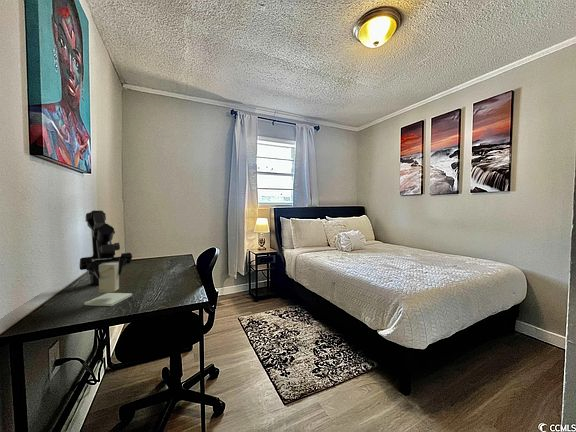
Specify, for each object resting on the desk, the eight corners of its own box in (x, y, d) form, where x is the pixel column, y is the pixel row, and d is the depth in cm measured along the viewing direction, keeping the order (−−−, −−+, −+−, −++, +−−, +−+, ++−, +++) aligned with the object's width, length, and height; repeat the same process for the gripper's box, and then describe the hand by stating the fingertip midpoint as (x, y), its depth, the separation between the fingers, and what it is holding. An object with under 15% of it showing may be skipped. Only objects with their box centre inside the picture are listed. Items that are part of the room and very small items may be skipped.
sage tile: (84, 305, 100) (84, 302, 100) (107, 294, 112) (107, 292, 112) (111, 305, 99) (111, 303, 99) (132, 295, 111) (132, 293, 111)
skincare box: (98, 292, 103) (97, 265, 102) (104, 289, 107) (103, 262, 106) (115, 291, 104) (114, 264, 103) (120, 288, 108) (119, 262, 108)
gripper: (79, 239, 101) (82, 269, 93) (131, 235, 114) (137, 262, 107) (78, 254, 106) (81, 284, 99) (127, 249, 120) (133, 276, 112)
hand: (109, 276), depth 104 cm, fingers closed on skincare box, 7 cm apart
